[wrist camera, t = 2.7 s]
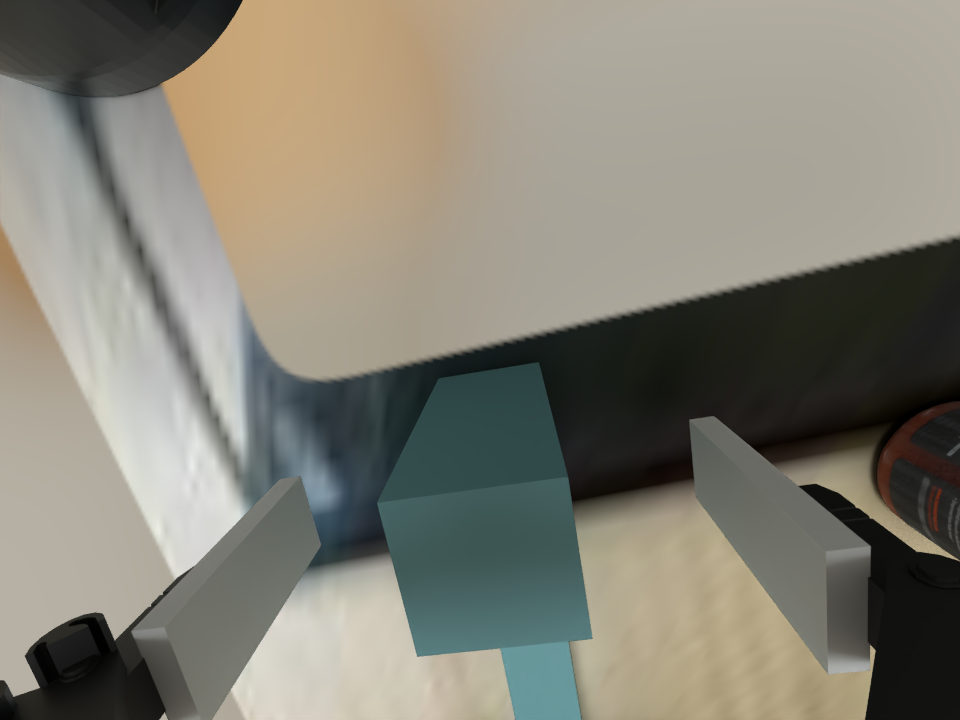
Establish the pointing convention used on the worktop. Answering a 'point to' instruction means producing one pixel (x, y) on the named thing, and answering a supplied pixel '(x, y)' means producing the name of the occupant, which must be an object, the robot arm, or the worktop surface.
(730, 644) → the worktop surface
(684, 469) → the worktop surface
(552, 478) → the teal stepped block
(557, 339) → the worktop surface
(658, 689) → the worktop surface
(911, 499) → the supplement bottle
